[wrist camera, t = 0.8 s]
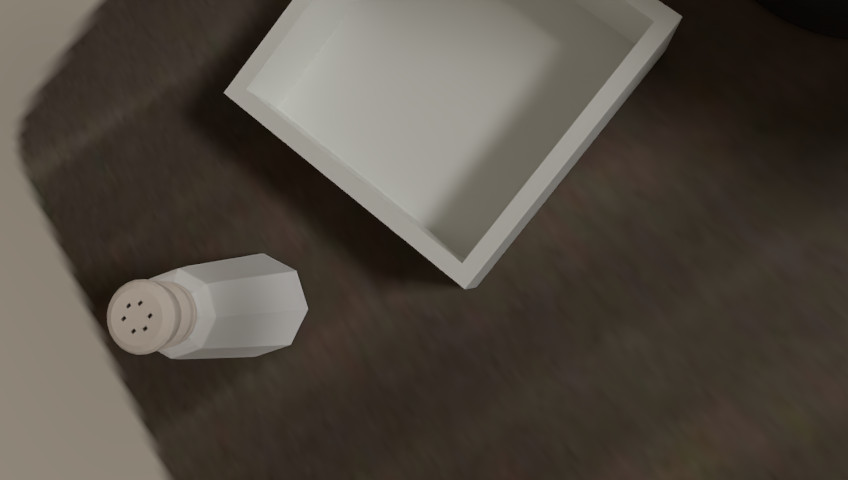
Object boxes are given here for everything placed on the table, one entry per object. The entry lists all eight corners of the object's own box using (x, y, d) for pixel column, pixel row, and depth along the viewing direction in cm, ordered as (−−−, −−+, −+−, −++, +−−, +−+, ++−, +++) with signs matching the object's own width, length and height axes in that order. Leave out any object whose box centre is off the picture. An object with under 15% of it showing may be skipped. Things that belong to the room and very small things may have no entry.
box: (432, -111, 36) (414, -165, 31) (665, 50, 33) (682, 16, 29) (262, 114, 37) (223, 92, 32) (476, 287, 34) (464, 289, 30)
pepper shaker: (193, 299, 37) (45, 309, 26) (266, 232, 36) (145, 214, 26) (254, 377, 36) (127, 421, 25) (329, 310, 36) (232, 326, 25)
